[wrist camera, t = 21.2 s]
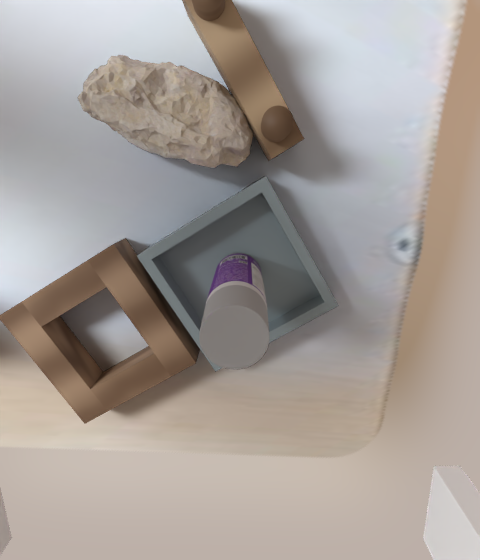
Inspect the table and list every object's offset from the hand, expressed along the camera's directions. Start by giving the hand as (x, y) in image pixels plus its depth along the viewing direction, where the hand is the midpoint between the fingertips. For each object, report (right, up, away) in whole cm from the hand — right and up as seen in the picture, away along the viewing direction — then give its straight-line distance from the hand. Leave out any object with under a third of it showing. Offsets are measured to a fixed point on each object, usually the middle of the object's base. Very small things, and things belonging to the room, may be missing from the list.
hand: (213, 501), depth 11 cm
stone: (-5, +22, +24) cm, 33 cm away
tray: (+1, +7, +27) cm, 28 cm away
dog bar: (+1, +25, +22) cm, 33 cm away
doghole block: (-13, +2, +29) cm, 32 cm away
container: (+1, +7, +27) cm, 28 cm away
